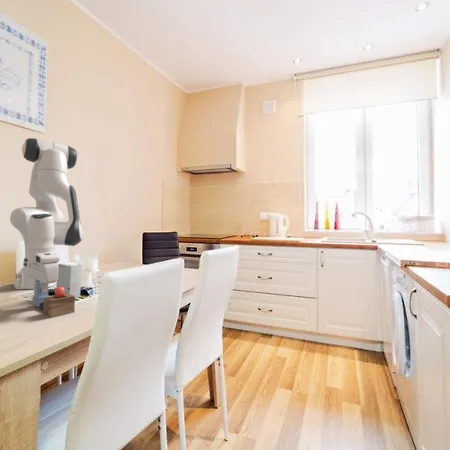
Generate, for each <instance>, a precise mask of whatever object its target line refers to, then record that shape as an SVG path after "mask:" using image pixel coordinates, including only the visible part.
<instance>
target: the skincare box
mask: <svg viewBox="0 0 450 450" xmlns="http://www.w3.org/2000/svg"><path fill="white" fill-rule="evenodd" d="M57 263H58V279H57V284H56V287H64V294H66V293H68V294H70V295H73V296H75V299H78V298H81V287H82V286H81V283H82V267H83V266H82V264H81V263H77V262H70V261H67V262H57Z"/></svg>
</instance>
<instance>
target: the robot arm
mask: <svg viewBox="0 0 450 450" xmlns="http://www.w3.org/2000/svg"><path fill="white" fill-rule="evenodd" d="M77 152H78V151H77V150H76V148H73V147H72V146H70V145H68V146H67V145H65V144H61V143H58V142H54V141H48V140H43V139H37V138H33V137H31V138H30V137H29V138H27V139H25V141H24V142H23V144H22V146H21V153H22V157H23V159H25V160H26V161H28V162H30V163H34V164H33V167H32V169H31V174H30V175H31V176H30V180H29V181H30V182H29V188H28V193H29V195H30V196H31V198H33V199H34V200H35V204H36V206H24V207H18V208H15V209H13V210H12V212H11V213H10V214H9V215H10V216H9V220H10V224H11V226H13V228H15V229H16V230H17V231H19V233H20V235H21V237H22V239H23V242H24V258H23V264H22V267H21V269H20V270H19V272H18V273H16V274H15V279H16V280H15V281H13V282H12V285H13V287H14V288H15V290H34V283H41V284H42V285H41V288H40V292H42V293H43V292H46V291H47V286H48V288H50V287H51V288H52V287H54V286H56V285H57V279H58V263H60V256H59V255H58V254H57V252H56V251H55V249H56V247H55V246H70V247H75V246H76V245H78V244H80V243H81V242H82V240H83V238H84V231H83V228H82V225H81V219H80V218H81V217H80V210H79V204H78V198H77V194H76V193H77V192H76V189H75V188H74V186H73V185H71V184H70V183H69V181H68V171H69V170H70V169H73V168H74V167H75V166H76V165H77V163H78V158H79V157H78V153H77ZM56 198H59V199H61V200H63V201H64V202H65V203H66V208H67V215H68V220H67V221H64V213H63V212H62V211H61V210H60V209H59V206H58V204H57V199H56Z"/></svg>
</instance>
